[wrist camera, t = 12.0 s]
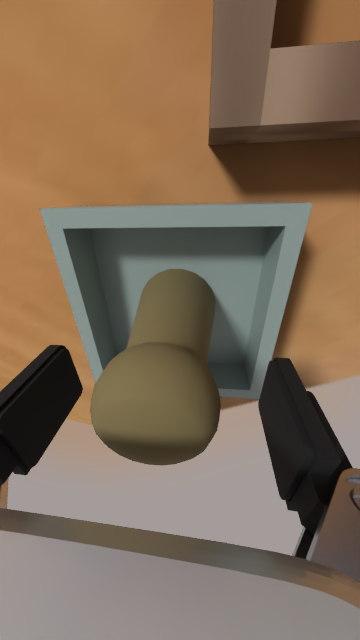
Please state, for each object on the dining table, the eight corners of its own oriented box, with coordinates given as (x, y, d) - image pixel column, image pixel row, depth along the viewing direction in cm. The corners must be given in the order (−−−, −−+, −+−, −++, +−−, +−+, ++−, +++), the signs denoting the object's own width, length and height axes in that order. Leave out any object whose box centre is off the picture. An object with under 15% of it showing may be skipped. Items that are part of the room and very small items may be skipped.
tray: (284, 201, 13) (312, 202, 10) (251, 365, 20) (260, 399, 17) (78, 206, 15) (39, 208, 11) (114, 358, 22) (97, 388, 18)
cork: (193, 346, 19) (187, 500, 9) (130, 319, 18) (50, 456, 8) (230, 290, 16) (278, 429, 6) (157, 253, 15) (81, 350, 5)
